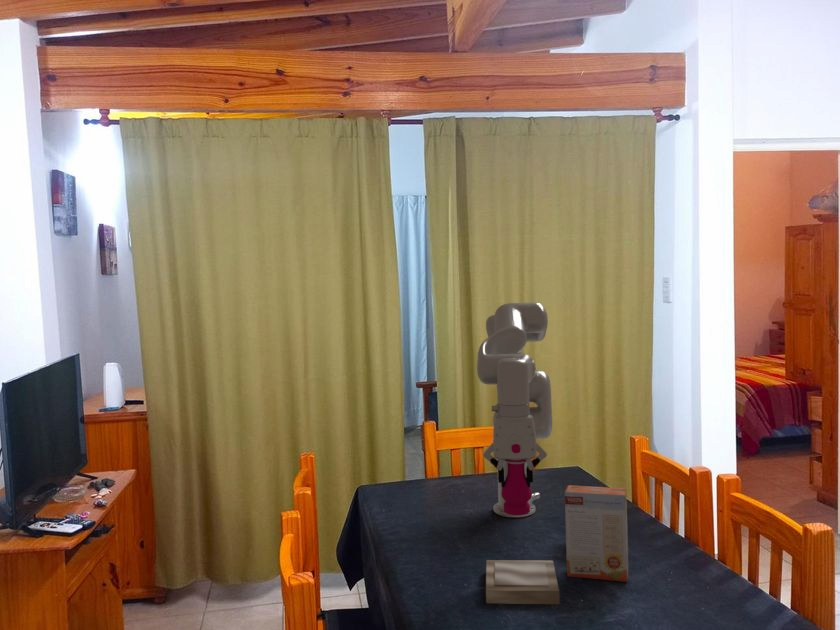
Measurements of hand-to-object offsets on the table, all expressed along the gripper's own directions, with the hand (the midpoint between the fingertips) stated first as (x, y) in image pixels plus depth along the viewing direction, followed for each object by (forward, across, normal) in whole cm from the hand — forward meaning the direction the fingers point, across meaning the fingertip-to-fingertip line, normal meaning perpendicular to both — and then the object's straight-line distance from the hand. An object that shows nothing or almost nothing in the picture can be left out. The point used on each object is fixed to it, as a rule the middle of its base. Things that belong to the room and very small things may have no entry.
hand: (515, 484), depth 171 cm
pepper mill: (+7, 0, 0) cm, 7 cm away
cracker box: (+22, +19, +1) cm, 29 cm away
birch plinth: (+22, 0, -6) cm, 23 cm away
